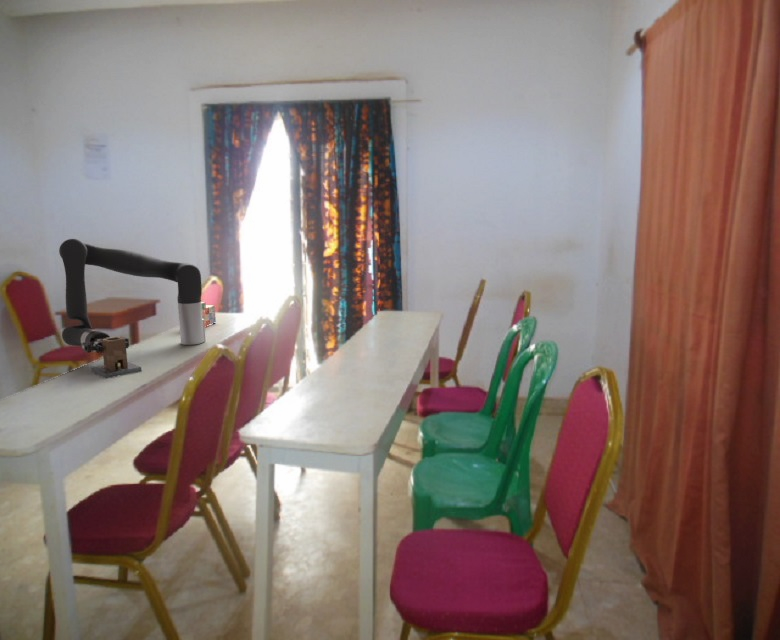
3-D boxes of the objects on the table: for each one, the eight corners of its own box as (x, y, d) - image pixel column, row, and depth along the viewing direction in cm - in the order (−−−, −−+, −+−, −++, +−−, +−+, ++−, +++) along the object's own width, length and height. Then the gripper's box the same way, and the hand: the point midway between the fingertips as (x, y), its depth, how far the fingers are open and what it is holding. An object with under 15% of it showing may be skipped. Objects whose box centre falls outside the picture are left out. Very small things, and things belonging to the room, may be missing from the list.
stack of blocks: (204, 323, 292) (202, 298, 289) (216, 323, 291) (214, 299, 288) (182, 332, 271) (180, 305, 269) (194, 332, 270) (193, 305, 268)
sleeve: (104, 367, 203) (101, 339, 201) (120, 364, 207) (118, 336, 205) (111, 370, 199) (108, 341, 197) (127, 367, 203) (125, 338, 201)
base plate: (91, 371, 203) (89, 353, 202) (126, 365, 211) (124, 347, 210) (105, 378, 195) (103, 359, 194) (141, 371, 203) (139, 352, 202)
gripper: (73, 333, 207) (91, 340, 196) (114, 327, 217) (134, 333, 206) (75, 354, 208) (94, 362, 197) (116, 347, 218) (136, 354, 207)
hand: (114, 347), depth 202 cm, fingers open, 8 cm apart
